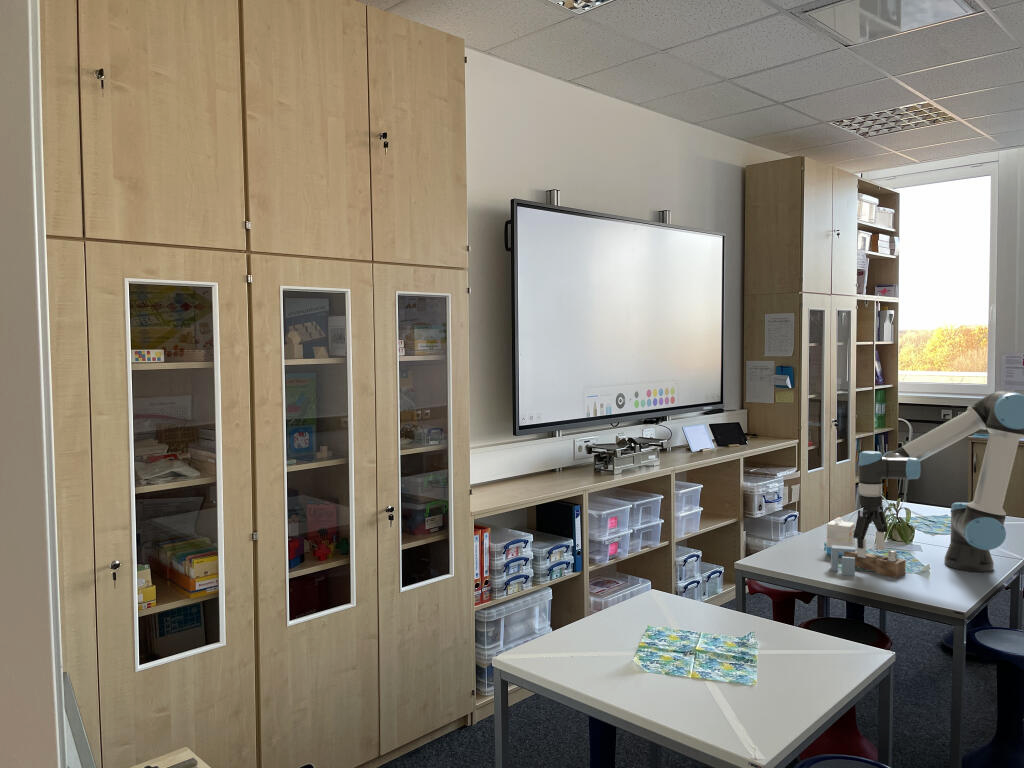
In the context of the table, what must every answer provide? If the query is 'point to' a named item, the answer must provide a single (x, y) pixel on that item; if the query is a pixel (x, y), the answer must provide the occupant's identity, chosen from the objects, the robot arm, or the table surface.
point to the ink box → (840, 534)
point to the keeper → (843, 560)
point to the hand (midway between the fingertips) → (871, 553)
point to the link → (879, 564)
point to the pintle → (892, 556)
